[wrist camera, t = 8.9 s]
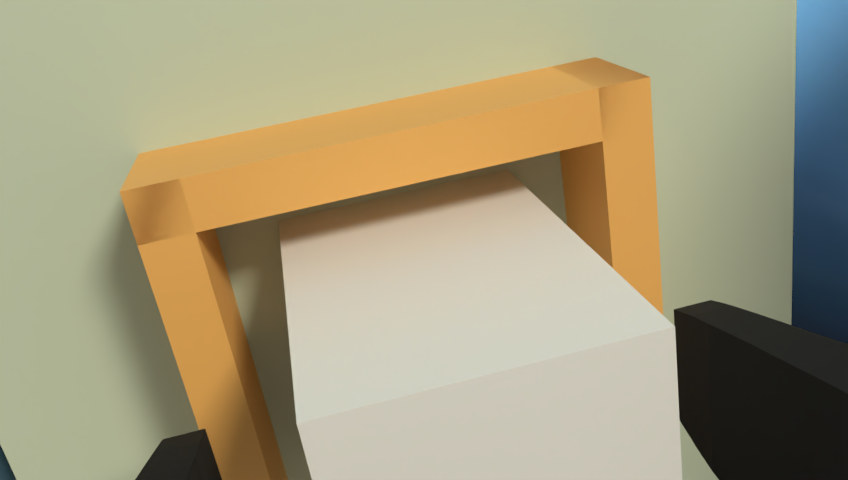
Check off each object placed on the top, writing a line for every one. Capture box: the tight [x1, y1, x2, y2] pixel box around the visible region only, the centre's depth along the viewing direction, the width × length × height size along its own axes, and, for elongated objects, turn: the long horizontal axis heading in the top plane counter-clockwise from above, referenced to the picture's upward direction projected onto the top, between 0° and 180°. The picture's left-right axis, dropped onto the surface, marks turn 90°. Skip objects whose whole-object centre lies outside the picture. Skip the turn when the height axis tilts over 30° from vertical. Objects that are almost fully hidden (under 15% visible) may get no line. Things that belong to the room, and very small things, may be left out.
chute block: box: [278, 169, 682, 480], centre depth 12 cm, size 4×5×6 cm
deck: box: [0, 0, 797, 480], centre depth 14 cm, size 15×14×3 cm
